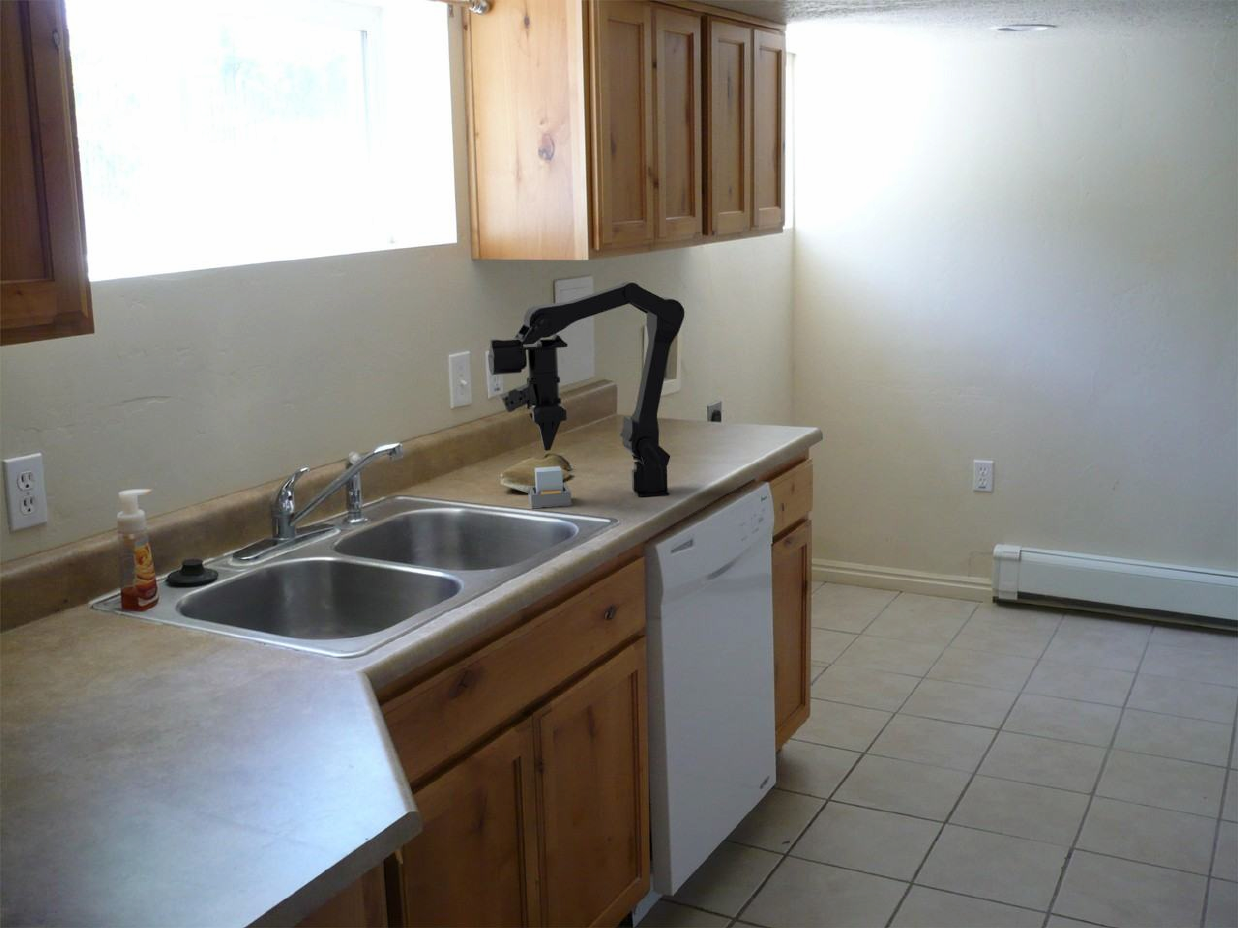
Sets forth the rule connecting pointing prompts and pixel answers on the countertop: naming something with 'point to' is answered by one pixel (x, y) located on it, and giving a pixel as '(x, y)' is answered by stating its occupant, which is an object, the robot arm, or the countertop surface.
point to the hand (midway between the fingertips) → (547, 450)
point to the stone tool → (532, 471)
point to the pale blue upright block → (548, 479)
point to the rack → (549, 497)
